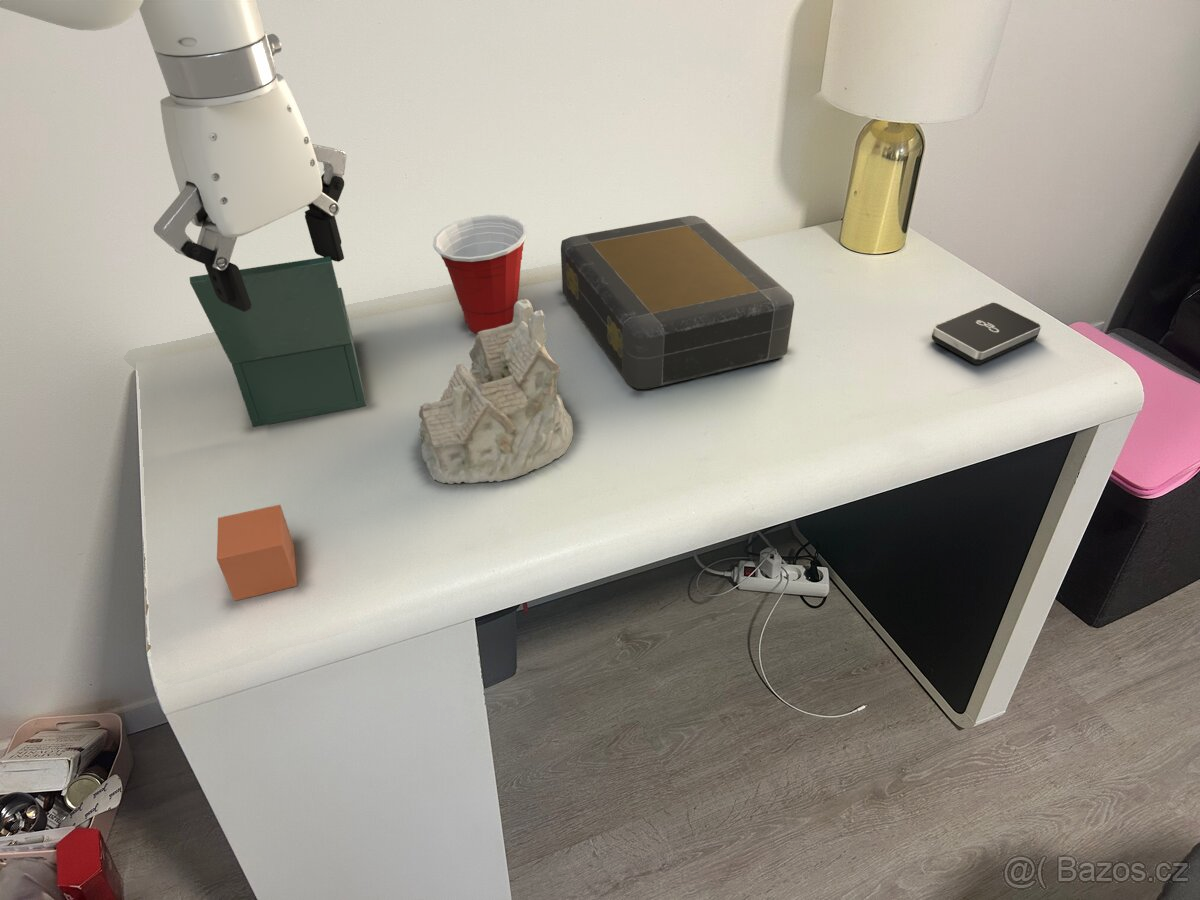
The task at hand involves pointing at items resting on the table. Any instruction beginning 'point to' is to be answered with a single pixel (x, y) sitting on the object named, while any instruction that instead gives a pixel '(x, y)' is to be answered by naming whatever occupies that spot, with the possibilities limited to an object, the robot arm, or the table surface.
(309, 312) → the lid
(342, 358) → the tin
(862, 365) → the table surface
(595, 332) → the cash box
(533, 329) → the ceramic cottage
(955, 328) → the external hard drive
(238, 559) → the block
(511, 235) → the plastic cup
